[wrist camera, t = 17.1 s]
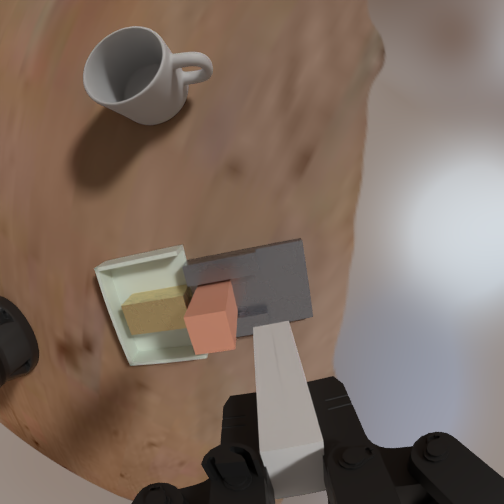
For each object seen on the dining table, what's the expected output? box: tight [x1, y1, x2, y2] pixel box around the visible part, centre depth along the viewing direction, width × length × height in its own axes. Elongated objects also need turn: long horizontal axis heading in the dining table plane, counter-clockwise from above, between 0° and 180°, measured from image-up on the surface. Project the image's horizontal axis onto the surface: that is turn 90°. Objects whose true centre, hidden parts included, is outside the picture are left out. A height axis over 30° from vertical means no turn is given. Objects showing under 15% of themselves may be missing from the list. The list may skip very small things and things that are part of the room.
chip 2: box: [151, 284, 193, 331], centre depth 35 cm, size 4×4×4 cm
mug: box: [83, 26, 213, 125], centre depth 26 cm, size 12×8×11 cm
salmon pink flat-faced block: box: [184, 279, 238, 355], centre depth 32 cm, size 4×4×9 cm
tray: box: [94, 245, 208, 366], centre depth 36 cm, size 11×14×3 cm
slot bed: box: [182, 238, 313, 337], centre depth 36 cm, size 14×10×3 cm
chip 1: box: [121, 289, 161, 335], centre depth 35 cm, size 4×4×4 cm
